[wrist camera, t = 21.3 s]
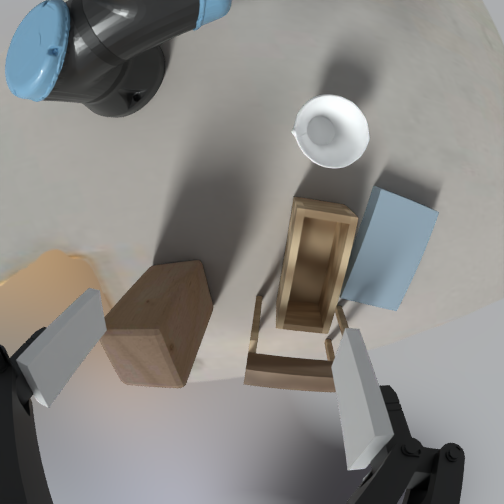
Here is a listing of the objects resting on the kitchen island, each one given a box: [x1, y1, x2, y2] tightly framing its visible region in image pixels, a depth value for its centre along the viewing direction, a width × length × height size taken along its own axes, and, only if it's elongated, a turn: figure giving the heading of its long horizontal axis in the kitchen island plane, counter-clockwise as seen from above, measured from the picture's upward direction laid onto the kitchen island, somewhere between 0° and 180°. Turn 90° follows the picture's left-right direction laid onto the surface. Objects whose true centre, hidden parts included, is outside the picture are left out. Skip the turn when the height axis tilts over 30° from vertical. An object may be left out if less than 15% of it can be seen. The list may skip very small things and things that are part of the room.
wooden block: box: [99, 260, 213, 388], centre depth 41 cm, size 10×10×20 cm
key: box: [244, 352, 336, 392], centre depth 37 cm, size 3×15×4 cm, turn 83°
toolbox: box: [247, 197, 358, 361], centre depth 42 cm, size 26×15×12 cm, turn 174°
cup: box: [291, 94, 370, 168], centre depth 34 cm, size 9×9×10 cm
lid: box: [340, 186, 439, 311], centre depth 43 cm, size 18×11×4 cm, turn 166°
